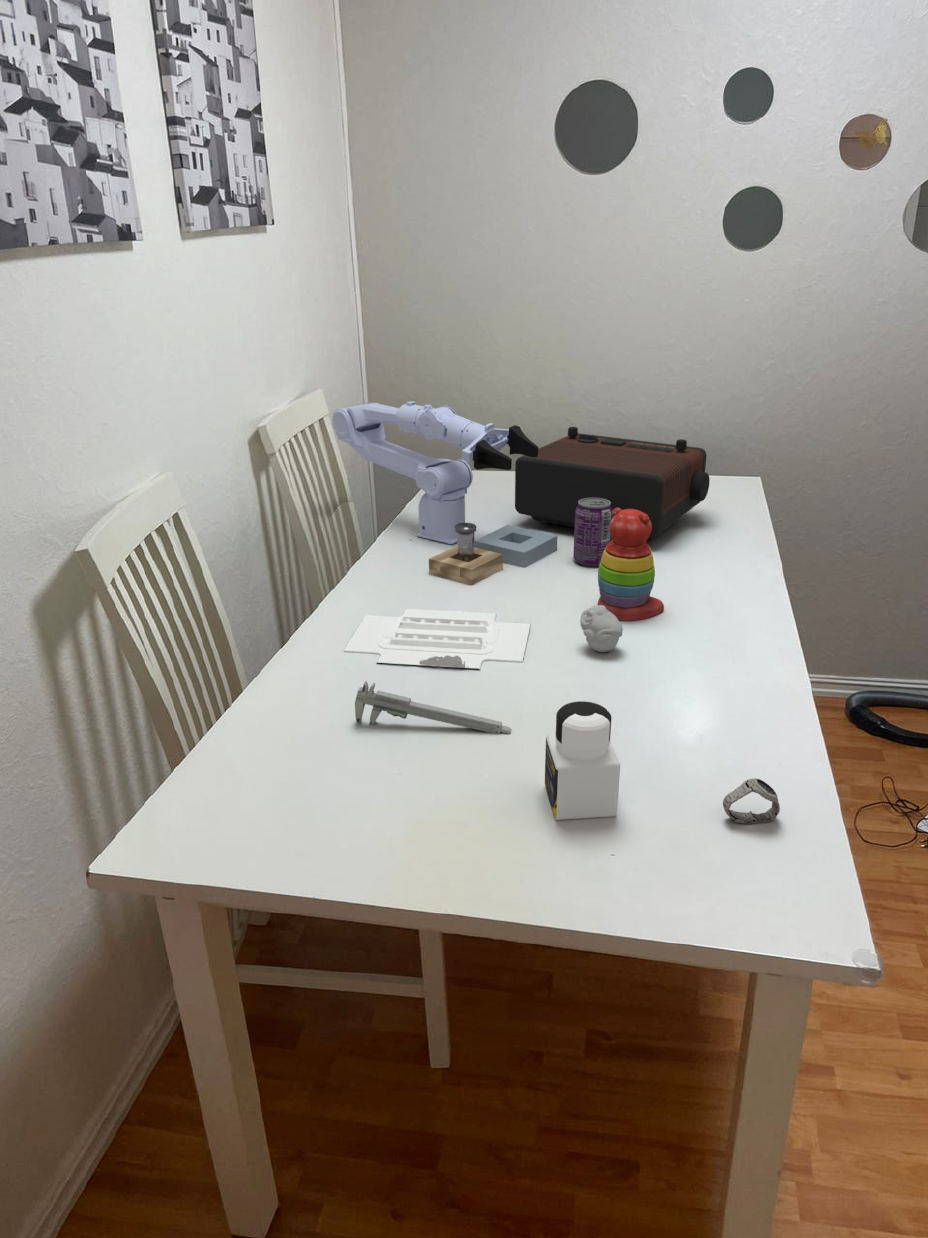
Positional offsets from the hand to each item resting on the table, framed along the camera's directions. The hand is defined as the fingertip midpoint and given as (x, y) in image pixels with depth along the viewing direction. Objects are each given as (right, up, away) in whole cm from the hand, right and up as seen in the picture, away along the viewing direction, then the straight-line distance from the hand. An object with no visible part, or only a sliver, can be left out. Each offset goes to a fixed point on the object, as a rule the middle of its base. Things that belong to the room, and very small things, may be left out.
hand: (523, 458), depth 168 cm
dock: (-1, -17, +12) cm, 20 cm away
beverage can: (+14, -19, +6) cm, 24 cm away
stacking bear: (+16, -29, -15) cm, 36 cm away
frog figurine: (+10, -35, -29) cm, 46 cm away
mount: (-11, -21, +2) cm, 24 cm away
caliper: (-15, -45, -49) cm, 68 cm away
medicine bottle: (+2, -51, -64) cm, 82 cm away
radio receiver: (+21, -9, +28) cm, 37 cm away
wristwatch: (+21, -53, -68) cm, 88 cm away
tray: (-15, -34, -24) cm, 44 cm away
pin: (-11, -20, +2) cm, 23 cm away
